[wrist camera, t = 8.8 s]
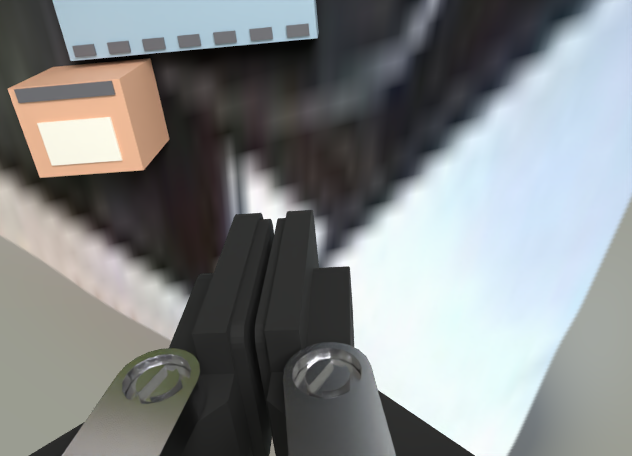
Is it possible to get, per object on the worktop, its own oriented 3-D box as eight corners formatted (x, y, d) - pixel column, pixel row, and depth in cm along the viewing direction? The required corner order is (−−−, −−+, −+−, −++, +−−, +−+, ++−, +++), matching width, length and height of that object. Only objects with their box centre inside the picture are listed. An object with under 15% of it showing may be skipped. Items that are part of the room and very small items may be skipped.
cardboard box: (52, 67, 33) (6, 89, 28) (150, 58, 32) (118, 79, 28) (78, 146, 35) (38, 178, 31) (169, 139, 35) (142, 171, 30)
